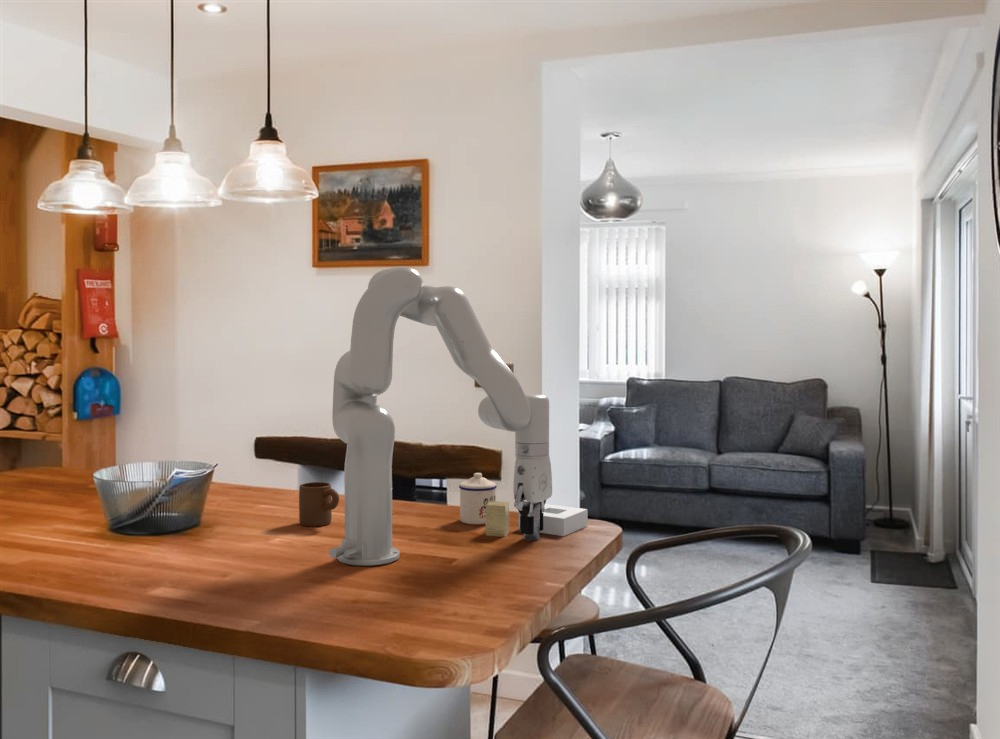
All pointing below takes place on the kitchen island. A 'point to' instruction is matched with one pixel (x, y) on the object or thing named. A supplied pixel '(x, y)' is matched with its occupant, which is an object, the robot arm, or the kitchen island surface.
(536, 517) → the round bit
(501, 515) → the square bit
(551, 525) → the block
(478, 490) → the teacup with lid
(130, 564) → the kitchen island surface
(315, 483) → the mug
